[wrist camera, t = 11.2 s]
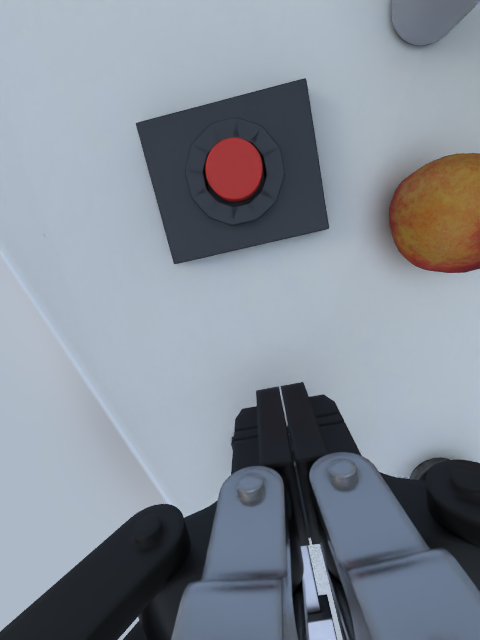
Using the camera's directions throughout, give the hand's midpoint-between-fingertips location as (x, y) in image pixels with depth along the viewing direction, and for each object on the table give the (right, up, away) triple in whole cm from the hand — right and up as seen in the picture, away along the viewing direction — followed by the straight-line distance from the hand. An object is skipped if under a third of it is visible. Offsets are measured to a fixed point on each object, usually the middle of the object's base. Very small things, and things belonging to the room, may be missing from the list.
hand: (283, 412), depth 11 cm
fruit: (+13, +11, +16) cm, 24 cm away
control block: (-2, +14, +15) cm, 21 cm away
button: (-2, +13, +12) cm, 18 cm away
